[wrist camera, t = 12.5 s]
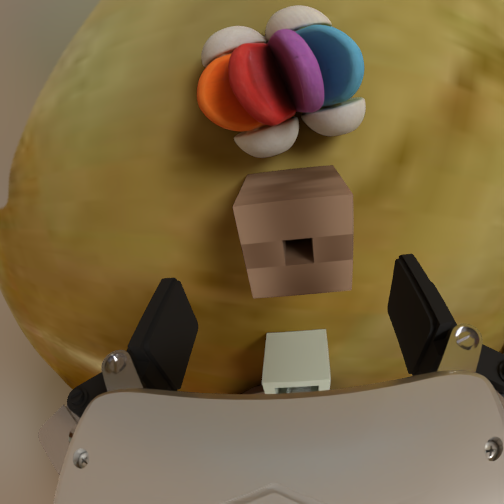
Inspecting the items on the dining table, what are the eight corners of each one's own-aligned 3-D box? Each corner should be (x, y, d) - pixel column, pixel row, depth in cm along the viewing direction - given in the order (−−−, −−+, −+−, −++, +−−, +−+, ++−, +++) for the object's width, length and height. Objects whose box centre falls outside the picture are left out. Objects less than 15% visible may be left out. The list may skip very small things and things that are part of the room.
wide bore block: (325, 328, 26) (330, 378, 21) (324, 362, 29) (327, 407, 24) (266, 333, 27) (261, 382, 22) (273, 365, 30) (270, 409, 25)
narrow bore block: (332, 165, 17) (352, 194, 12) (336, 240, 20) (351, 289, 15) (247, 174, 19) (232, 206, 13) (261, 247, 22) (253, 298, 17)
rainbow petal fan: (193, 55, 14) (143, 37, 8) (327, 11, 12) (351, -32, 5) (239, 160, 18) (215, 195, 12) (371, 120, 15) (419, 135, 9)
